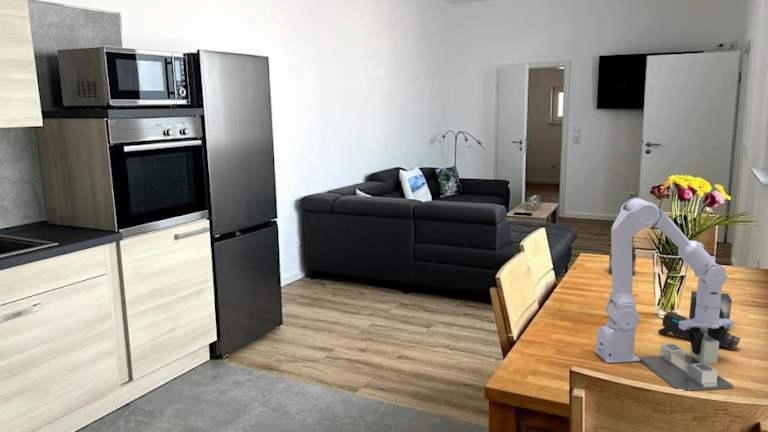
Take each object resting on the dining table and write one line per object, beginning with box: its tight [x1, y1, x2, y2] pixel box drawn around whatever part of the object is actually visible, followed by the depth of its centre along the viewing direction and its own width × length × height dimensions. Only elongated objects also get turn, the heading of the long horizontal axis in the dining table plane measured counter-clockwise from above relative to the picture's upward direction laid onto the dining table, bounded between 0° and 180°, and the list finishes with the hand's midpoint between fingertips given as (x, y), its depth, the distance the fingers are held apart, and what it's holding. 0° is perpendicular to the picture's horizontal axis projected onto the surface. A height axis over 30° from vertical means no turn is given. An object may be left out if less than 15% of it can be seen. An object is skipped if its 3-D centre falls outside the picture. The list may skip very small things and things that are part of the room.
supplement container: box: [608, 244, 637, 276], centre depth 248 cm, size 10×10×12 cm
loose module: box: [689, 334, 720, 365], centre depth 162 cm, size 4×6×6 cm, turn 6°
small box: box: [688, 290, 733, 333], centre depth 186 cm, size 11×6×10 cm, turn 70°
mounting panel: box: [637, 343, 734, 391], centre depth 153 cm, size 14×19×5 cm
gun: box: [658, 311, 741, 351], centre depth 174 cm, size 4×20×10 cm, turn 51°
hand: (703, 353), depth 162 cm, fingers closed on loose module, 4 cm apart
